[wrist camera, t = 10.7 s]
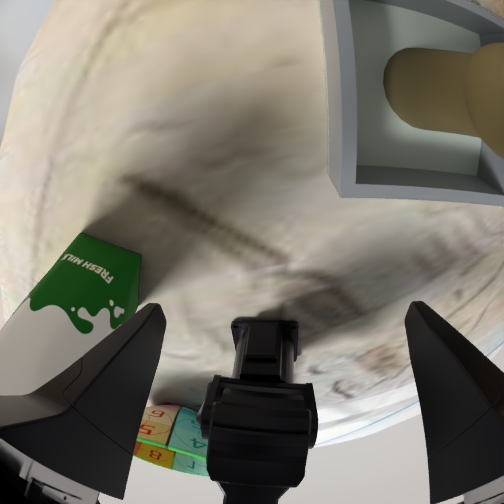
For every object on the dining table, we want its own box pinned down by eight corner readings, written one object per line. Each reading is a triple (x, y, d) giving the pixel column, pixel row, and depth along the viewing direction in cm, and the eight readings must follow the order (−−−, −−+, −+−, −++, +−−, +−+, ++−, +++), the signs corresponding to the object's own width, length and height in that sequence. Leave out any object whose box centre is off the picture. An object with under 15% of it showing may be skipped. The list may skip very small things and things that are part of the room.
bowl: (223, 441, 50) (216, 480, 41) (124, 409, 47) (110, 448, 38) (264, 409, 38) (258, 467, 29) (123, 363, 35) (99, 420, 27)
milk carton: (79, 287, 27) (-8, 430, 10) (73, 220, 22) (-64, 383, 5) (145, 315, 28) (75, 486, 11) (152, 248, 23) (33, 471, 6)
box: (478, 184, 16) (509, 207, 13) (327, 173, 18) (340, 197, 14) (481, 29, 9) (516, 27, 5) (316, -12, 11) (326, -38, 7)
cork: (461, 71, 12) (577, 91, 2) (444, 142, 15) (552, 207, 6) (391, 33, 12) (499, -1, 2) (373, 111, 15) (478, 148, 6)
